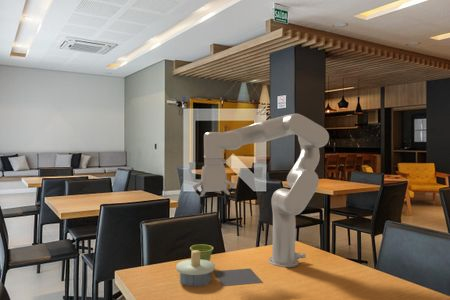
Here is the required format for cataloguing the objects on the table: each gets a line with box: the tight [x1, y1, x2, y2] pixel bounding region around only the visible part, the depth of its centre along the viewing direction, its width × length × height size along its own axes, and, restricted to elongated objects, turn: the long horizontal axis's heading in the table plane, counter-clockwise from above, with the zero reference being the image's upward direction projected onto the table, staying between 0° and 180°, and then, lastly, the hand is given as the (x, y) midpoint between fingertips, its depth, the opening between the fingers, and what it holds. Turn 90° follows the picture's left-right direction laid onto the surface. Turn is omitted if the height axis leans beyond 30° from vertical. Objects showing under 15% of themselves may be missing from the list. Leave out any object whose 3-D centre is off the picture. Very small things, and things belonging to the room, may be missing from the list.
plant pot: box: [189, 243, 214, 261], centre depth 143 cm, size 9×9×9 cm
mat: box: [213, 268, 264, 287], centre depth 134 cm, size 15×15×1 cm
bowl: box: [179, 272, 212, 287], centre depth 130 cm, size 11×11×5 cm
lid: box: [175, 250, 216, 275], centre depth 130 cm, size 14×14×6 cm
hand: (214, 205), depth 144 cm, fingers open, 9 cm apart
